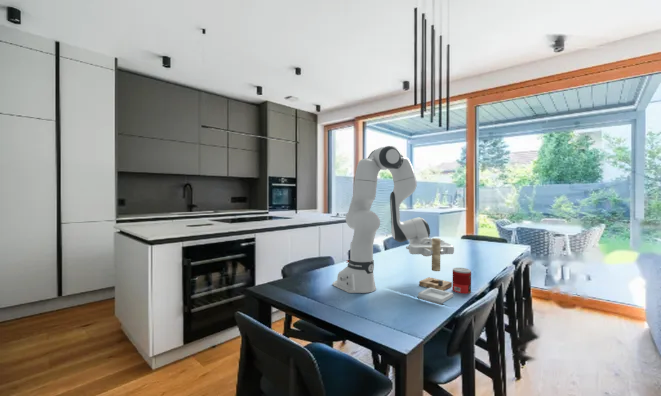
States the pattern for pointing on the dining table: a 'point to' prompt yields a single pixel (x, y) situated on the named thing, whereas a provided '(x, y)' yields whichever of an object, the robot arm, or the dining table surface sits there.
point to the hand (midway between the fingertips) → (436, 252)
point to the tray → (435, 295)
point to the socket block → (435, 283)
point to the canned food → (462, 280)
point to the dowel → (436, 254)
